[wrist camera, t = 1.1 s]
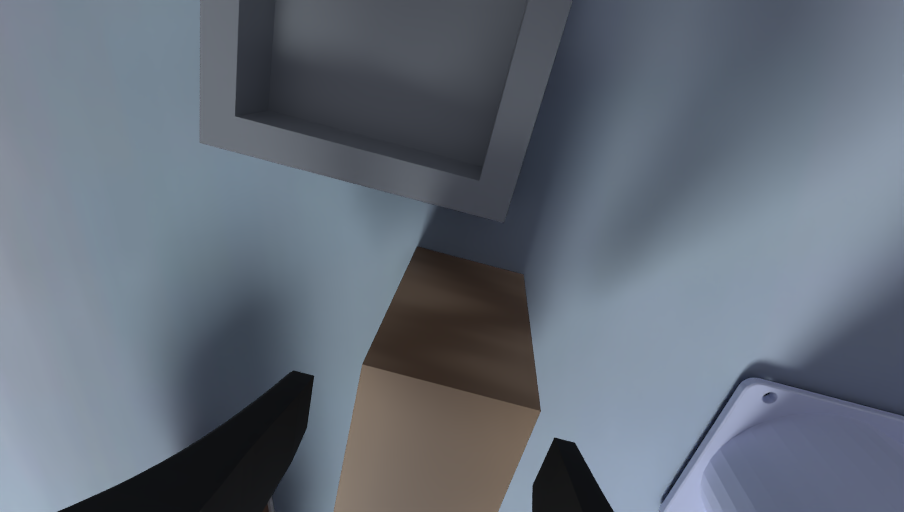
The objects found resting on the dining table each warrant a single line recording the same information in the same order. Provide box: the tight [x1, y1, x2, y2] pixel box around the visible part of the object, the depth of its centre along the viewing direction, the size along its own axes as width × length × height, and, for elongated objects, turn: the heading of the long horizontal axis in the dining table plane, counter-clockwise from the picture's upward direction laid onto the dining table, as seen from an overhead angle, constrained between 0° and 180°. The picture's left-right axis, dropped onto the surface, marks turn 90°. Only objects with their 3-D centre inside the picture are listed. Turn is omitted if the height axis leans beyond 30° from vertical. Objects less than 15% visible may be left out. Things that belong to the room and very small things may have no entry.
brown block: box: [334, 247, 541, 512], centre depth 14 cm, size 4×7×7 cm, turn 166°
